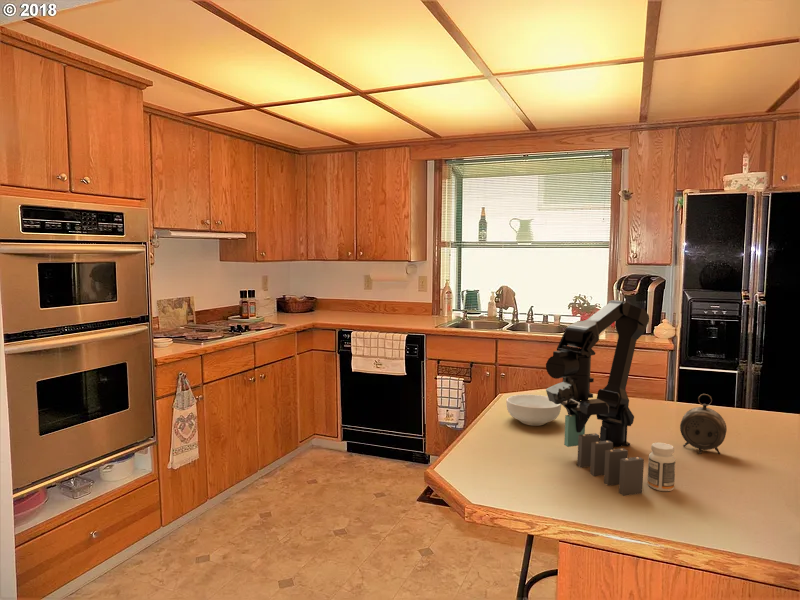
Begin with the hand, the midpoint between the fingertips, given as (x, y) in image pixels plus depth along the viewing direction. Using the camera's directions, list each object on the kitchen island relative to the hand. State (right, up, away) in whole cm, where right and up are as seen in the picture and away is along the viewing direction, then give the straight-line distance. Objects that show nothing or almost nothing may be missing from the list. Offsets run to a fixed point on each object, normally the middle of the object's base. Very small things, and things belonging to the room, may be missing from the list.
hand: (576, 431), depth 146 cm
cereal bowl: (-4, -5, +31) cm, 31 cm away
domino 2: (+1, -8, -5) cm, 9 cm away
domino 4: (+4, -9, -15) cm, 18 cm away
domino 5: (+6, -9, -20) cm, 23 cm away
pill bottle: (+14, -9, -17) cm, 24 cm away
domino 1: (0, -4, 0) cm, 4 cm away
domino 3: (+3, -8, -10) cm, 13 cm away
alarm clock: (+36, -7, +5) cm, 37 cm away
